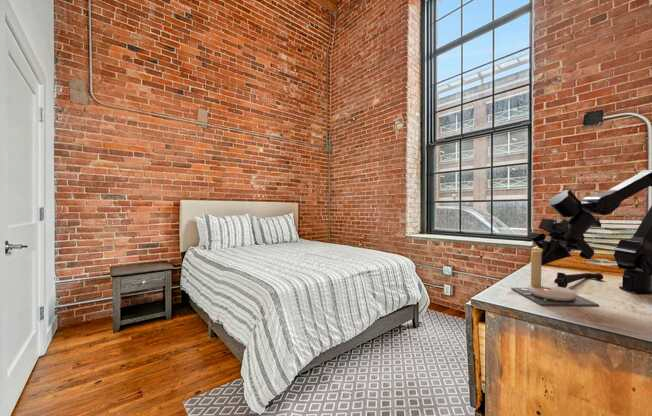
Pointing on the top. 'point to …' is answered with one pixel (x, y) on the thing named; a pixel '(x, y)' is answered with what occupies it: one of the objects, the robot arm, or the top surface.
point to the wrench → (574, 278)
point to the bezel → (549, 302)
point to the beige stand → (546, 290)
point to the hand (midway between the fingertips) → (540, 263)
